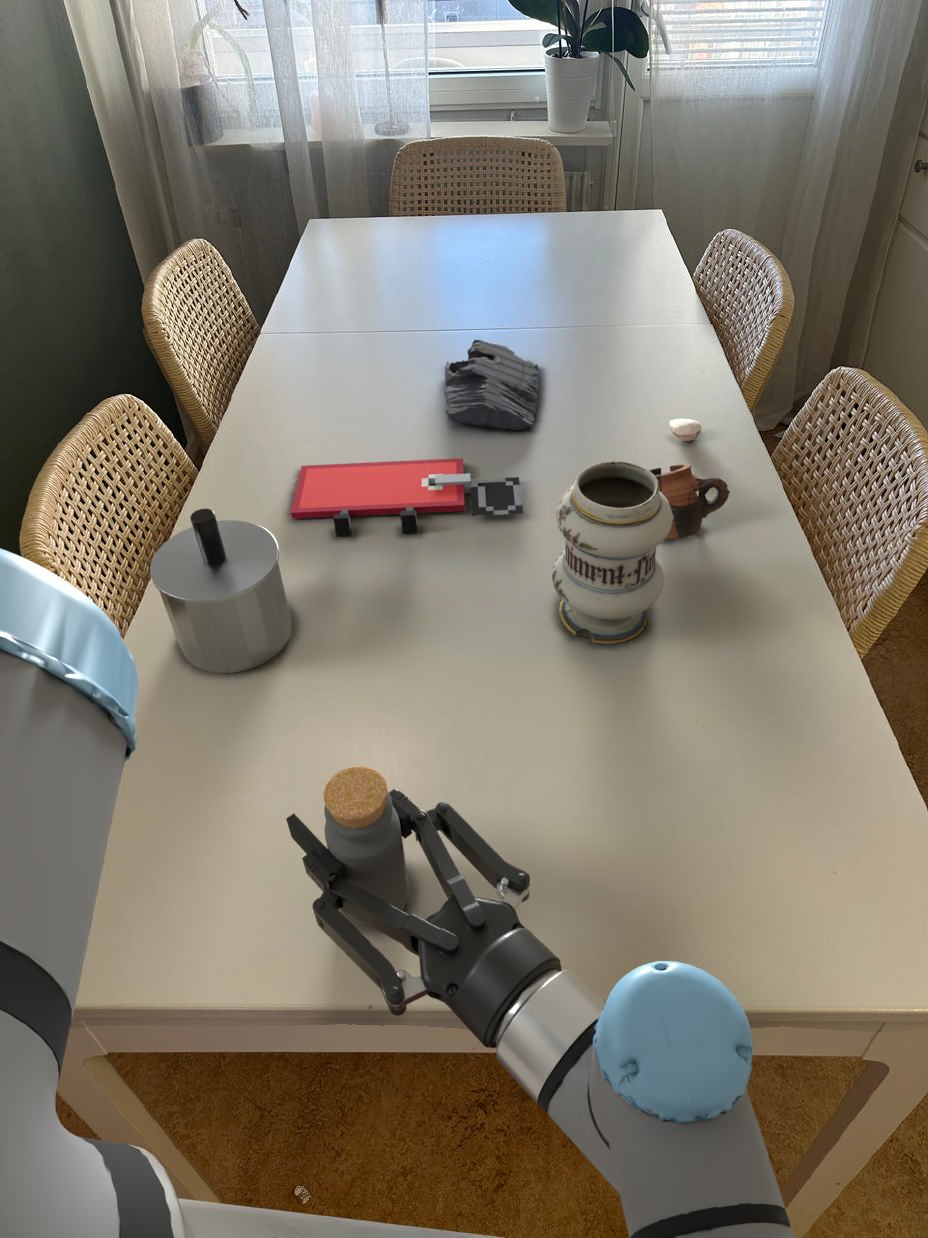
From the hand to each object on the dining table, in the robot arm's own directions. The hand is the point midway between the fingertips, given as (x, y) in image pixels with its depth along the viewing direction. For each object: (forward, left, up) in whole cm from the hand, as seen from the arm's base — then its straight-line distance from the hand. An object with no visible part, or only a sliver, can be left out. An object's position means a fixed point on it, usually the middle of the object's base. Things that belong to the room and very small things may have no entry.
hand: (326, 802), depth 71 cm
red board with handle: (-3, +54, -9) cm, 54 cm away
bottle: (+4, -3, -9) cm, 10 cm away
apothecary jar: (+23, +34, -9) cm, 42 cm away
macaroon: (+34, +73, -9) cm, 81 cm away
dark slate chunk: (+5, +82, -9) cm, 82 cm away
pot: (-18, +27, -8) cm, 33 cm away
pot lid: (-18, +27, +2) cm, 32 cm away
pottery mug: (+32, +53, -9) cm, 62 cm away
